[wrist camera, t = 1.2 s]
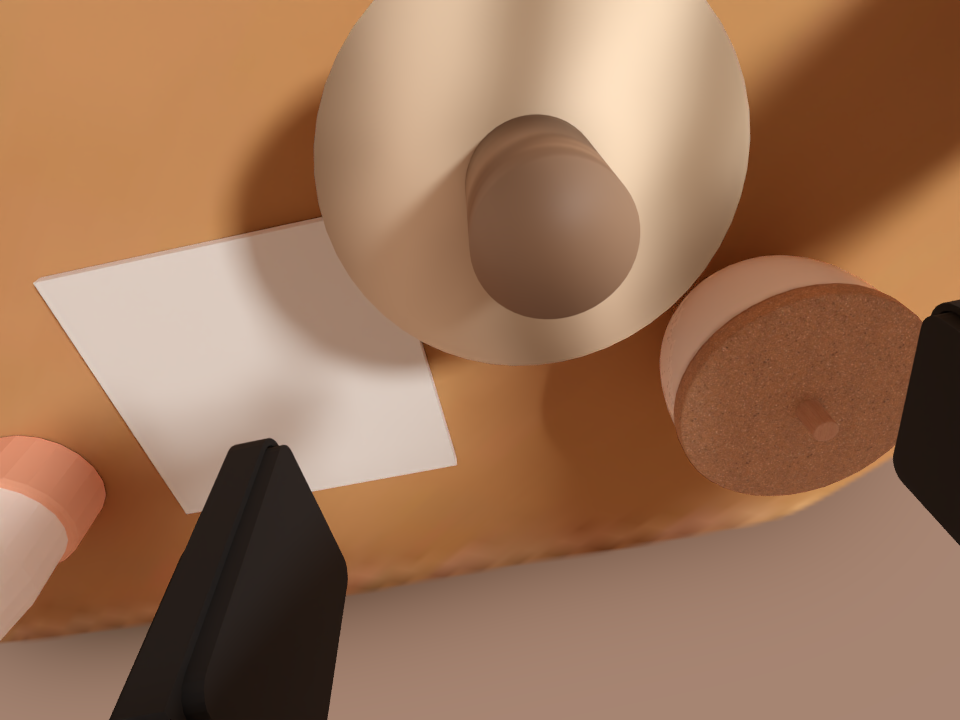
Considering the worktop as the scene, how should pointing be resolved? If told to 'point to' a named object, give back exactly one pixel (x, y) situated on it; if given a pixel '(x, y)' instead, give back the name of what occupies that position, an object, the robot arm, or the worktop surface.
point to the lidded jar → (786, 374)
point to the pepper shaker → (40, 516)
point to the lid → (530, 167)
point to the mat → (254, 360)
